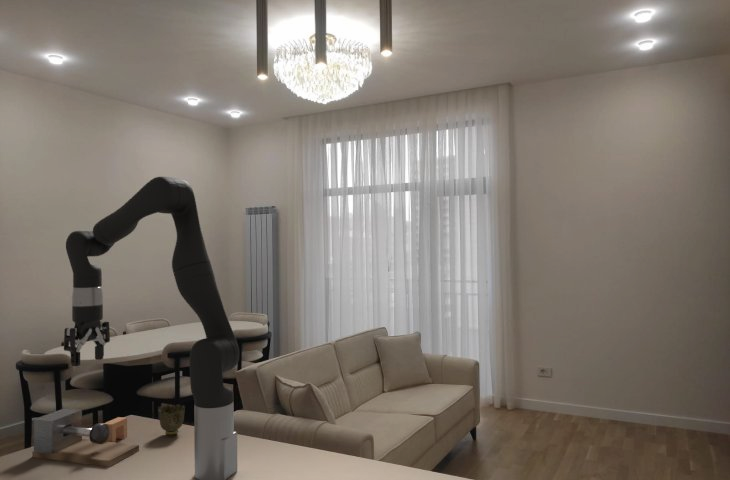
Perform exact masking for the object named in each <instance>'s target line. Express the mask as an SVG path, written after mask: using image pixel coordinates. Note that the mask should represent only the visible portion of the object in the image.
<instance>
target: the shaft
mask: <svg viewBox="0 0 730 480" xmlns="http://www.w3.org/2000/svg"><path fill="white" fill-rule="evenodd" d="M63 433H64V434H70V435H79V436H82V437H88V439H89V440H90V441H91V442H92V443H96V444H103V443H104V442H105V441H106V440H107V439H108V437H109V433H110V429H109V426H108V425H107V424H104V423H95V424H94V425H93V426H92V427H91V428H90V427H89V428H88V427H82V428H80V427H71V426H66V427H64V429H63Z"/></svg>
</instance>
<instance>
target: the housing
mask: <svg viewBox="0 0 730 480" xmlns="http://www.w3.org/2000/svg"><path fill="white" fill-rule="evenodd" d="M66 426H71V427H80V428H83V409H76V408H64V407H63V408H61V409H59V410H56V411H53V412H51V413H47V414H45V415H42V416H39V417H37V418H34V419H33V451H34V452H41V453H49V454H53V453H55V452H57V451H60V450H62V449H64V448H66V447H68V446H71V445H73V444H75V443H77V442H80V441H82V439H83V436H79V435H70V434H64V433H63V429H64V427H66Z"/></svg>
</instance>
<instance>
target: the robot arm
mask: <svg viewBox="0 0 730 480" xmlns="http://www.w3.org/2000/svg"><path fill="white" fill-rule="evenodd" d="M198 212H199V211H198V208H197V202H196V196H195V193H194V190H193V188H192V186H191V184H190V183H189V182H188V181H186V180H184V179H181V178H176V177H169V176H156V177H153V178H152V179H150V180H149V181H147V183H145V184H144V185H143V186H142V187H141V188H140V189H139V190H138V191H137V192H136V193H135V194H134V195H133V196H132V197H131V198H129V199H128V201H126V202H125V203H124V204H123V205H122V206H120V207H119V208H118V209H117V210H115V211H113V212H112V213H110V214H108V215H107V216H104V217H103V218H102V219H99V221H98V222H96V223H95V224H94V226H93V228H92V230H90V231H88V230H86V231H85V230H75V231H72V232H70V233H69V235H68V236H67V239H66V241H65V251H66V254H67V256H68V257H67V258H68V259H69V260H68V261H69V264H70V267H71V272H72V275H73V276H72V296H71V300H72V301H71V320H72V322H73V323H74V327H66V328H64V331H63V332H64V336H63V337H64V338H63V351H65V352H70V365H71V366H72V367H80V366H81V349H82V347H83V346H84V345H85V344H86V343H87V342H90V341H92V342H93V343H94V345H95V346H94V359H95V361H101V360H103V359H104V355H105V346H106V344H107V343H110V341H111V337H110V335H111V334H110V332H111V331H110V322H109V321H103V319H104V295H103V289H102V288H103V286H102V285H103V284H102V282H103V278H102V274H103V273H102V268H101V267H100V266H98V265H94V264H91V263H90V260H89V257H93V258H94V257H101V256H103V255H105V254H106V253H108V252H109V251H110V249H111V248H112V247H113V246H114V245H115V244H116V243H117V242H119V241H121V240H122V239H124V238H126V237H128V236H129V235H131V234H132V233H133V232H135V231H134V230H136V228H137V226H138V224H139V222H140V221H141V220H142V219H144V218H145V217H148V216H152V215H153V214H157V213H159V214H166V215H167V214H170V215H171V217H172V219H173V222H174V227H175V231H176V241H175V246H174V250H173V254H172V259H171V269H172V273H173V276H174V280H175V283H176V287H177V289H178V292H179V293H180V295H181V297H182V298H183V300H184V301H185V302H186V304H188V306H189V307H190V308H191V309H192V311H193V312H194V313H195V314H196V315H197V316H198V318H199V320H200V322H201V325H202V327H203V330H204V334H205V338H203V339H199V340H198V341H196V342H195V343H194V344H192V347H191V349H190V353H189V363H188V364H189V381H190V382H189V384H190V391H191V394H192V396H193V401H194V404H193V405H194V409H193V412H194V420H193V421H194V423H193V424H194V429H193V430H194V478H195V479H196V480H227V479H228V478H230V477H231V476H233V475H234V474H235V473H236V472H237V471H238V432H237V431H235V428H234V427H235V426H234V425H235V424H234V423H235V422H234V421H235V420H234V418H235V417H234V416H235V415H234V410H235V409H234V408H235V406H234V405H235V404H234V400H235V399H234V398H235V397H234V396H235V395H234V391H233V389H232V388H231V387H228V386H225V385H224V377H223V373H226V372H229V371H232V370H233V369H234V368H236V366H237V365H238V363H239V361H240V347H239V344H238V341H237V337H236V336H235V333H234V331H233V329H232V326H231V323H230V321H229V318H228V316H227V313H226V311H225V308H224V307H225V306H224V304H223V301H222V299H221V298H222V297H221V295H220V292H219V289H218V286H217V281H216V277H215V274H214V269H213V267H212V266H213V265H212V264H211V260H210V257H209V255H208V251H207V247H206V243H205V240H204V236H203V233H202V228H201V223H200V218H199V213H198Z"/></svg>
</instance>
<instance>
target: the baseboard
mask: <svg viewBox="0 0 730 480" xmlns="http://www.w3.org/2000/svg"><path fill="white" fill-rule="evenodd" d="M139 451H140V445H139V444H132V443H131V444H130V443H122V442H116V443H115V442H106V441H105V442H104V443H103V444H96V443H92V442H91V441H90V439H89V438H88V439H86V438H82V441H80V442H77V443H75V444H73V445H71V446H68V447H66V448H64V449H62V450H60V451H57V452H55V453H53V454H49V453H41V452H34V450H32V453H31V455H32V458H35V457H36V458H37V459H44V460H51V461H52V460H53V461H60V462H67V463H77V464H82V465H83V464H84V465H93V466H99V467H107V468H108V467H112V466H114V465H115V464H117V463H119V462H121V461H123V460H125V459H127V458H128V457H130V456H132V455H134V454H136V453H137V452H139Z"/></svg>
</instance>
